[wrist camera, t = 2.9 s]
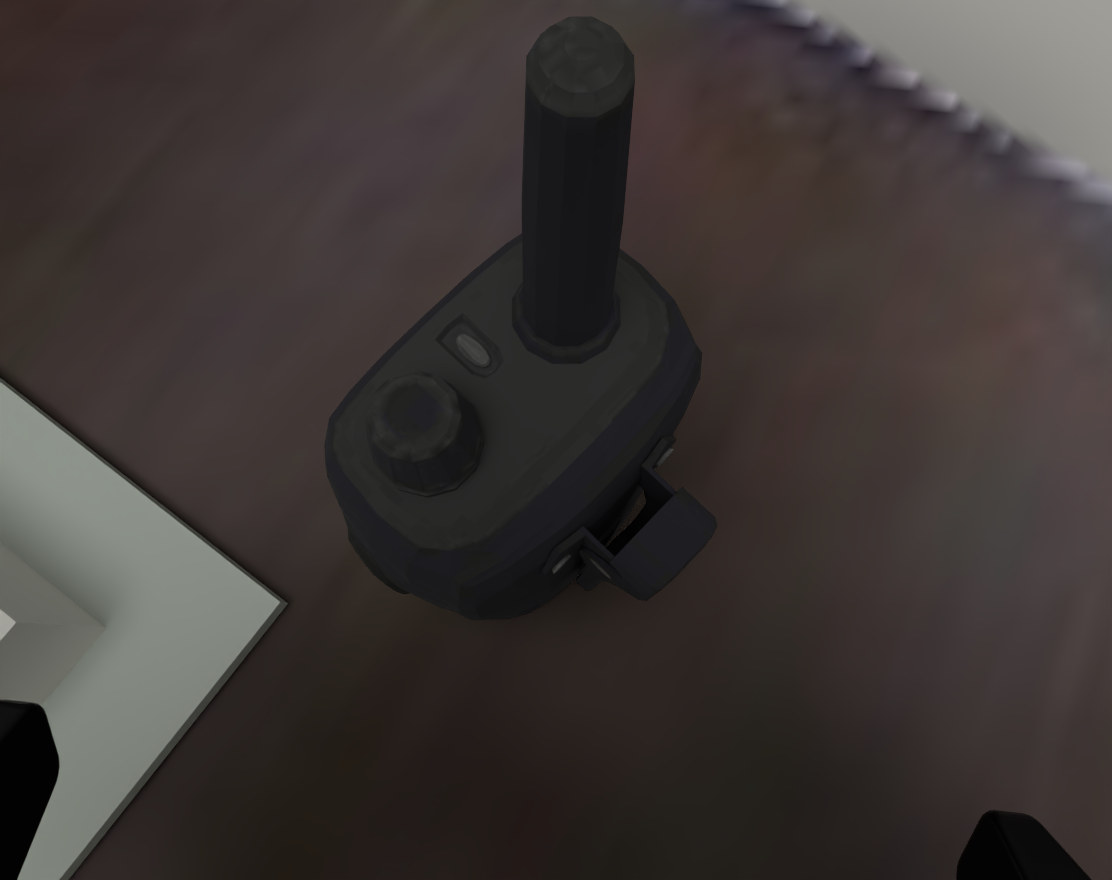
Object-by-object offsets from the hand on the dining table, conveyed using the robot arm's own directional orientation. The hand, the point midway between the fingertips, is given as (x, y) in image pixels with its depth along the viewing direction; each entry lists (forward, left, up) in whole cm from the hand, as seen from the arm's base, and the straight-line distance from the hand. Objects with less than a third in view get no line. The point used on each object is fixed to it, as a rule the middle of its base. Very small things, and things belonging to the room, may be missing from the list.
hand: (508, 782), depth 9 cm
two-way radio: (+2, -3, -11) cm, 12 cm away
